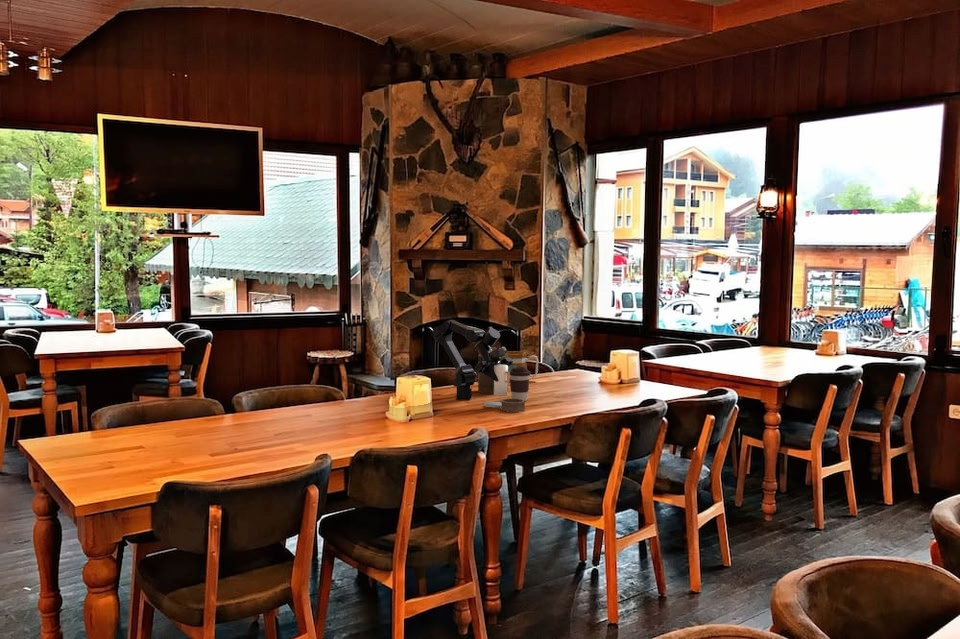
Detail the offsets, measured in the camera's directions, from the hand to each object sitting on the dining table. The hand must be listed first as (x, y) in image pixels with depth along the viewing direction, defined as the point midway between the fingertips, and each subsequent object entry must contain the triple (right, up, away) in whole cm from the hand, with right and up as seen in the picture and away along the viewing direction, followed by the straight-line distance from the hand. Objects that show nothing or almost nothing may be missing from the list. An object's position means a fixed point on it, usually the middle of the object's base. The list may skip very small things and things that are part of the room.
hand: (502, 380), depth 335 cm
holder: (+4, -12, -4) cm, 14 cm away
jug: (-1, -6, +2) cm, 7 cm away
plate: (-3, -12, +5) cm, 13 cm away
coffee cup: (+8, -11, +18) cm, 23 cm away
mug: (+11, -6, +72) cm, 73 cm away
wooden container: (-4, -9, +41) cm, 42 cm away
